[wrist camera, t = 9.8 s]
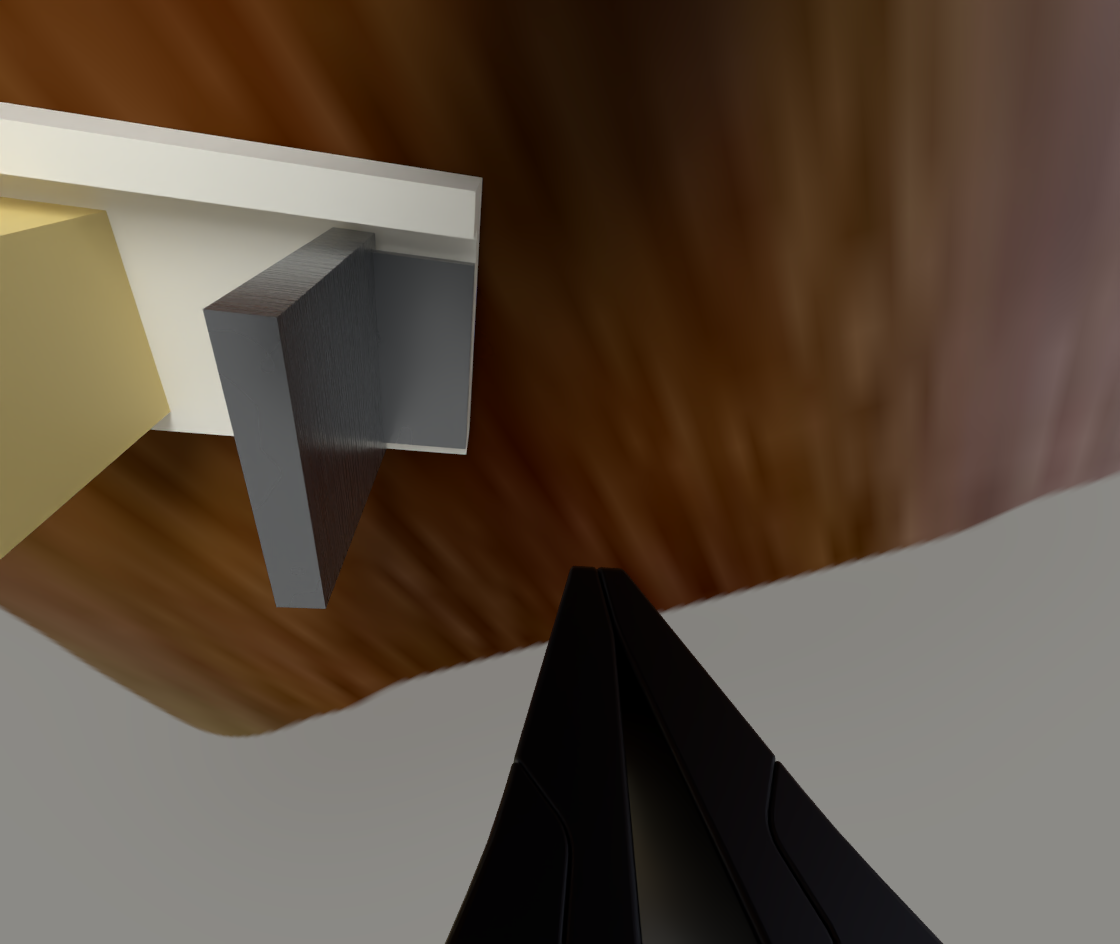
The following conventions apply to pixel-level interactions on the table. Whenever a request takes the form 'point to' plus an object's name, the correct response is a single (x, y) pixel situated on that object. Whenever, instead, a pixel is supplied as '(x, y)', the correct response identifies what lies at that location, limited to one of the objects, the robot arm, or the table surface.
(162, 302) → the shelf
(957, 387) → the table surface
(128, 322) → the ochre book
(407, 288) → the bookend
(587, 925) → the robot arm
